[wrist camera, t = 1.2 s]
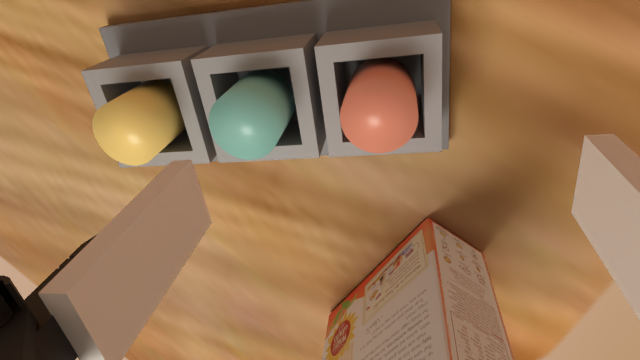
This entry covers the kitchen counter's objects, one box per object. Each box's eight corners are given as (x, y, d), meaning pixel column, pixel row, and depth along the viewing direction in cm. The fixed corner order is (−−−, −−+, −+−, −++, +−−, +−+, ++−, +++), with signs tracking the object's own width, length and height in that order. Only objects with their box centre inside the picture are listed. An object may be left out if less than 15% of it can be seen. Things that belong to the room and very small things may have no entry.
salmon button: (351, 123, 25) (344, 155, 22) (345, 60, 24) (335, 83, 20) (416, 119, 25) (419, 151, 21) (414, 54, 23) (417, 76, 19)
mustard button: (145, 137, 28) (107, 167, 25) (125, 82, 26) (81, 105, 23) (197, 133, 27) (166, 164, 24) (180, 76, 26) (143, 99, 22)
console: (155, 158, 33) (119, 191, 29) (107, 25, 28) (55, 41, 24) (446, 142, 28) (455, 178, 24) (449, -19, 24) (460, -9, 19)
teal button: (243, 130, 27) (218, 161, 23) (229, 71, 25) (200, 94, 21) (300, 127, 26) (284, 158, 22) (290, 66, 24) (271, 88, 21)
